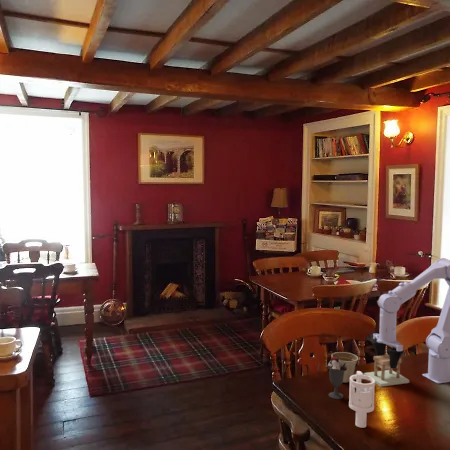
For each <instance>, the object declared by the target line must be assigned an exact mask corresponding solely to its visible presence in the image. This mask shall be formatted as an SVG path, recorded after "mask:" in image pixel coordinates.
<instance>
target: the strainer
mask: <svg viewBox="0 0 450 450" xmlns="http://www.w3.org/2000/svg"><path fill="white" fill-rule="evenodd" d="M355 380H356V381H355ZM362 380H366V381H370V382H369V383H363V382H362ZM375 386H376V383H375V380H374V379H373V378H372V377H370V376H367V375H364V373H363V372H362V371H360V370H357V371H356V374H354V375H352V376H350V382H349V391H348V392H349V395H348V399H349V401H348V407H349V408H350V410H353V411H355V422H354V423H355V425H354V426H356V427H358V428H361V429H362V428H366V427H367V413H371V412H374V410H375Z"/></svg>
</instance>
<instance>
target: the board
mask: <svg viewBox="0 0 450 450" xmlns="http://www.w3.org/2000/svg"><path fill="white" fill-rule="evenodd" d="M396 374H397V371H394V370H393V369H392V374H389V369H385V377H384V380H381V370H378V371H377V376H374V371H371V372H369V371H368V372H364V373H363V375H367V376H370V377H372V378H373V379H374V380H375V385H378V386H379V387H380V388H381V387H387V386H394V385H402V384H410V380H409V379H408V378H407V377H405V376H403V375H402V374H400V378H396Z"/></svg>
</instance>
